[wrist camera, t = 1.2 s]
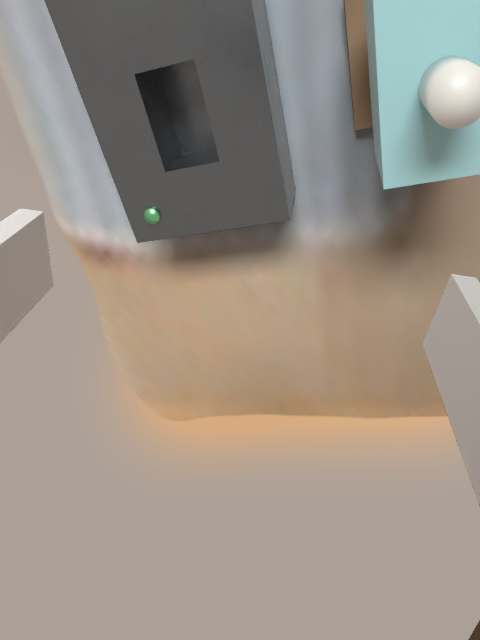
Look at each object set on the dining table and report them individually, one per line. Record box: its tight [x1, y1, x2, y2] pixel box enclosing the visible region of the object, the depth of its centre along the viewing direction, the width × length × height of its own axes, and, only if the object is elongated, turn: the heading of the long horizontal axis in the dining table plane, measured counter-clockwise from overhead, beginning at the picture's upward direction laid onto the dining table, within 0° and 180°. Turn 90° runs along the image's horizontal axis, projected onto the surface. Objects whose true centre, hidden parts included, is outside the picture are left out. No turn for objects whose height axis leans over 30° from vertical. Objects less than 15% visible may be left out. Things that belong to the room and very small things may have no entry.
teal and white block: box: [364, 0, 480, 189], centre depth 24 cm, size 6×9×14 cm, turn 13°
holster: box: [344, 0, 373, 131], centre depth 29 cm, size 8×8×4 cm
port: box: [45, 0, 296, 243], centre depth 32 cm, size 12×16×6 cm
